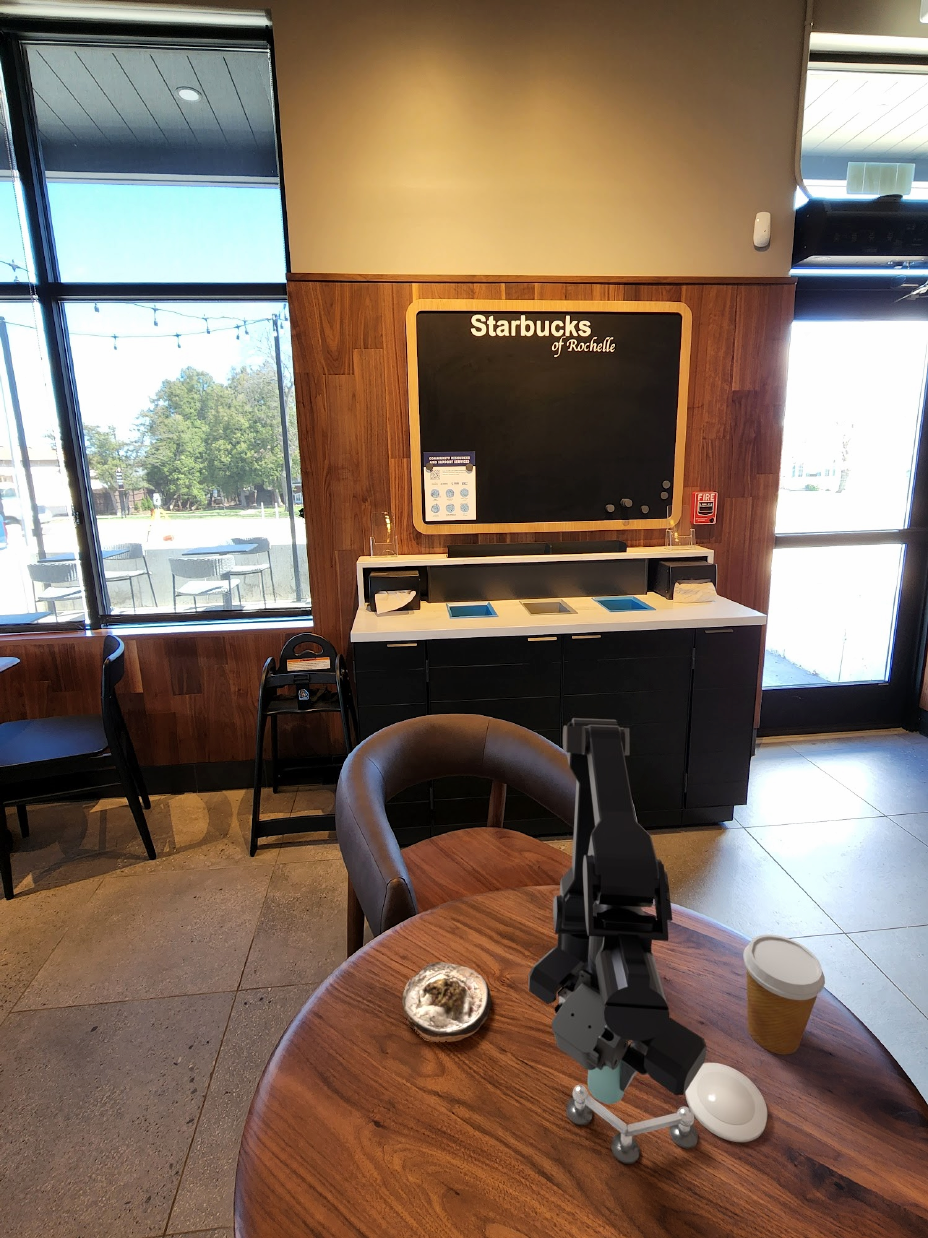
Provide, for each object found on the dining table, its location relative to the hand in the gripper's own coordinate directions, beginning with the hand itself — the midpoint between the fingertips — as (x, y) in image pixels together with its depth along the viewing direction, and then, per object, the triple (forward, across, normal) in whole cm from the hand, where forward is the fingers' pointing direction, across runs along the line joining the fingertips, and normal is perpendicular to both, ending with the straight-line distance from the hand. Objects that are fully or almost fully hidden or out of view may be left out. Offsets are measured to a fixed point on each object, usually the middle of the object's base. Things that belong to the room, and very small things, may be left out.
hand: (606, 1075), depth 70 cm
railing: (+8, +2, +3) cm, 9 cm away
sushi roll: (+9, -25, 0) cm, 27 cm away
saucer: (+8, +9, +13) cm, 18 cm away
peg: (+2, 0, 0) cm, 2 cm away
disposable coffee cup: (+8, +10, +27) cm, 30 cm away
